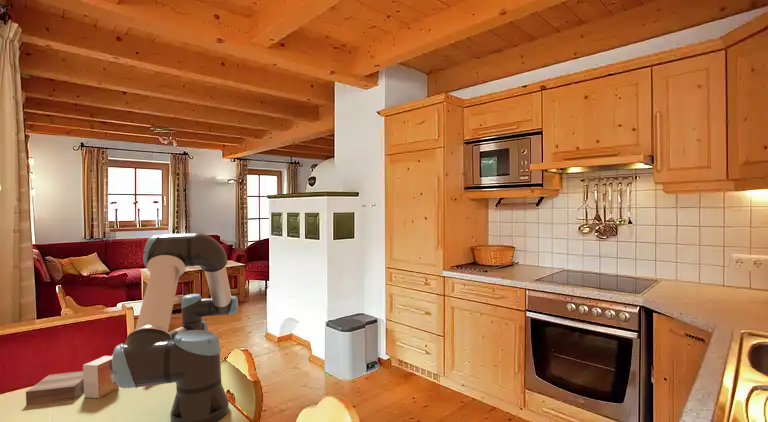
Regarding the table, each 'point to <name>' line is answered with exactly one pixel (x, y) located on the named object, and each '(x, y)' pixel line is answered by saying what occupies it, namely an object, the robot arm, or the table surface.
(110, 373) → the small box
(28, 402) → the walnut riser
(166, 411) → the table surface
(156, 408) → the table surface
